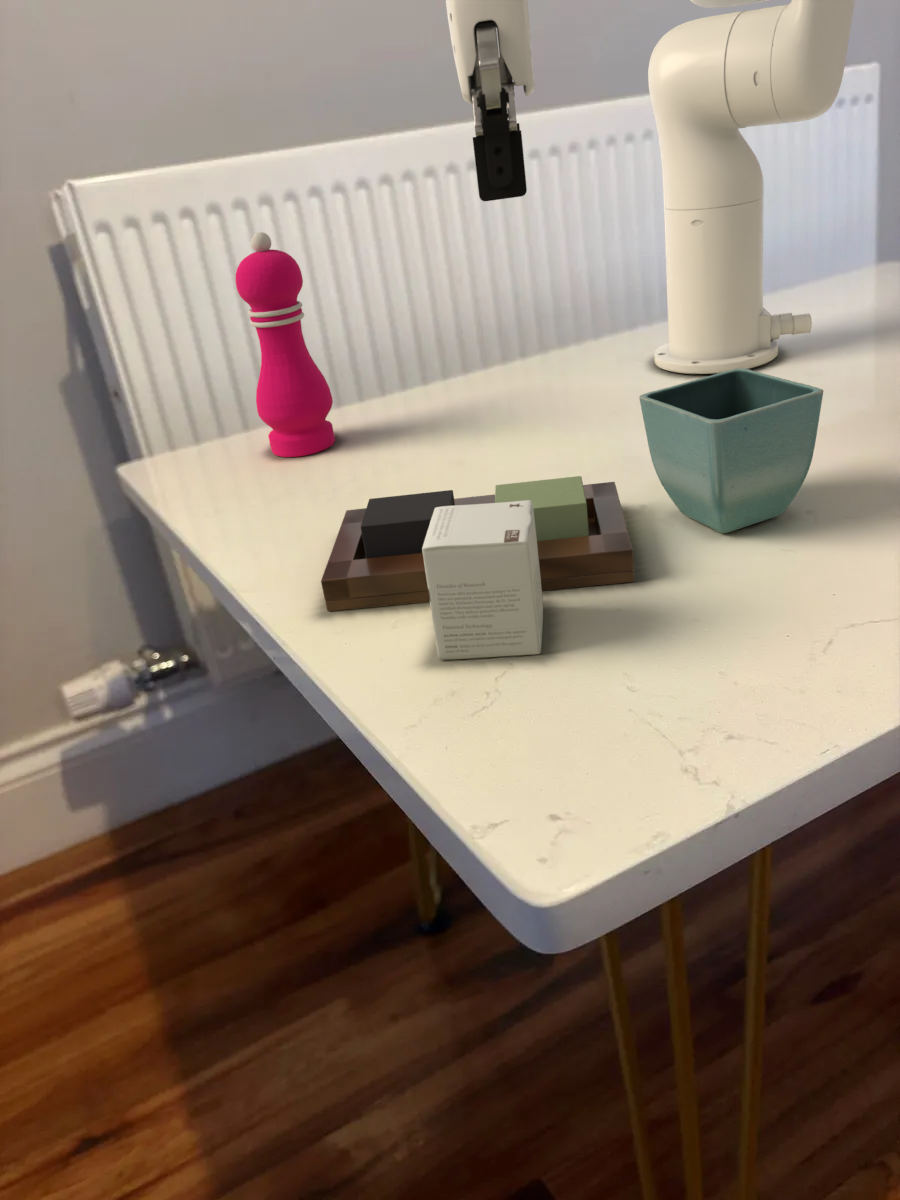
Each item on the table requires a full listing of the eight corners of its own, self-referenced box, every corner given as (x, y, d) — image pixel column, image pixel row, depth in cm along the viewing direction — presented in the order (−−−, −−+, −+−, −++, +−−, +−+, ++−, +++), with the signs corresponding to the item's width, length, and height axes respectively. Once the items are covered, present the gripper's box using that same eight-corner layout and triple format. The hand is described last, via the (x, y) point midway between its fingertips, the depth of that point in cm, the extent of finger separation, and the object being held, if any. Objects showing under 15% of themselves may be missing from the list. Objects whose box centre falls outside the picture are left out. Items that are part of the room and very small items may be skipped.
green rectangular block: (584, 521, 73) (581, 475, 71) (590, 551, 68) (586, 502, 67) (500, 530, 73) (495, 484, 72) (500, 560, 69) (494, 512, 67)
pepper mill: (327, 457, 96) (283, 234, 87) (255, 461, 98) (205, 243, 89) (349, 432, 102) (310, 221, 93) (281, 436, 104) (237, 230, 95)
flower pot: (641, 513, 75) (635, 393, 71) (741, 482, 77) (741, 365, 73) (715, 553, 67) (712, 422, 63) (823, 518, 70) (827, 389, 66)
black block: (459, 534, 74) (452, 489, 72) (456, 564, 69) (449, 517, 68) (377, 543, 74) (368, 498, 73) (369, 573, 70) (360, 526, 68)
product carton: (448, 612, 65) (432, 505, 61) (544, 606, 64) (533, 496, 61) (437, 662, 59) (419, 547, 56) (542, 656, 59) (530, 538, 55)
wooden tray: (616, 510, 76) (614, 481, 75) (634, 582, 65) (633, 549, 64) (351, 537, 78) (346, 509, 77) (327, 612, 67) (320, 580, 66)
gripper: (536, -125, 58) (562, 197, 65) (529, -85, 73) (550, 172, 81) (405, -103, 59) (445, 213, 66) (425, -68, 74) (456, 185, 82)
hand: (503, 190), depth 74 cm, fingers open, 9 cm apart
